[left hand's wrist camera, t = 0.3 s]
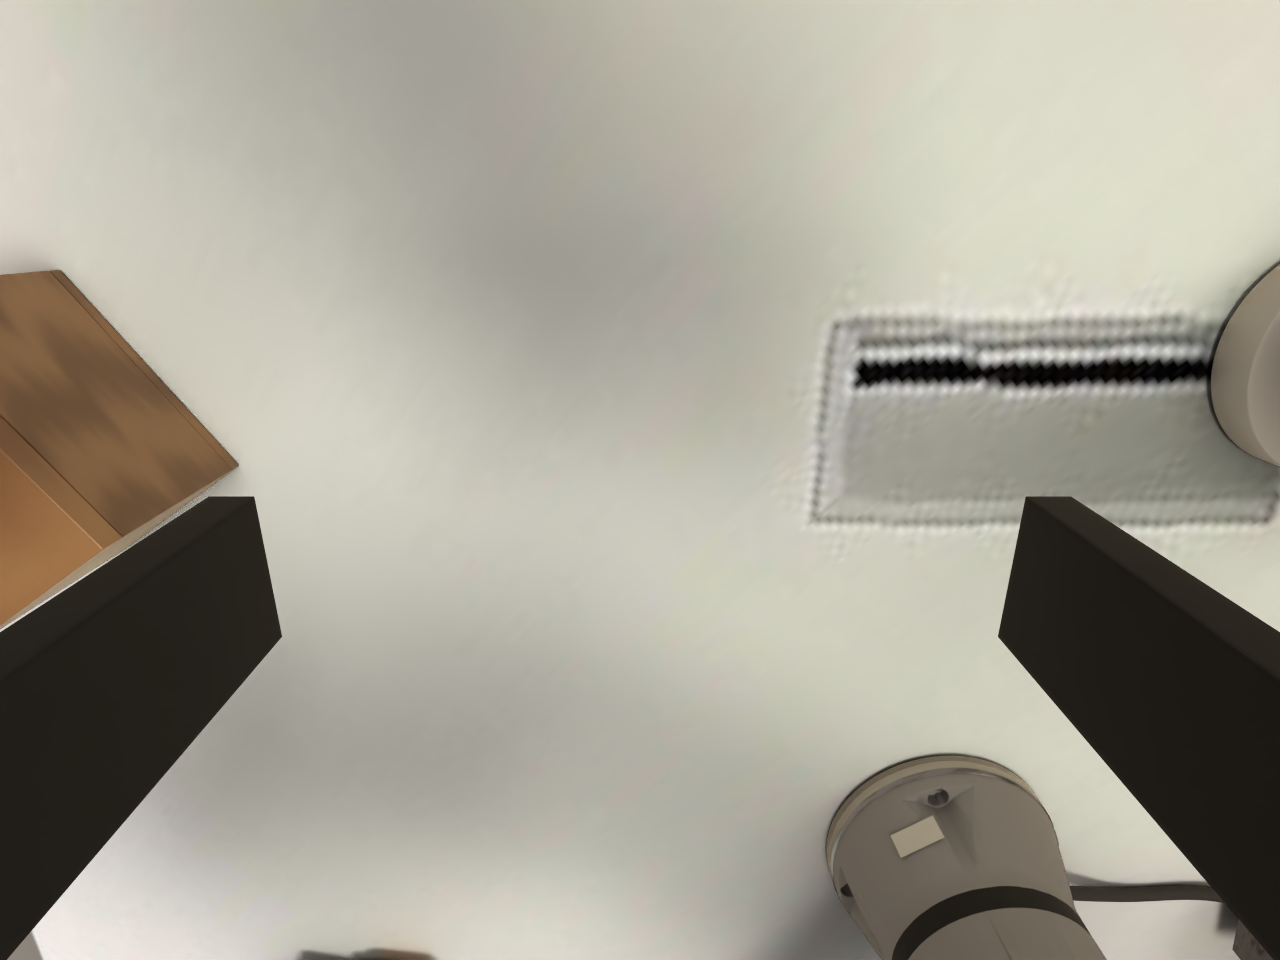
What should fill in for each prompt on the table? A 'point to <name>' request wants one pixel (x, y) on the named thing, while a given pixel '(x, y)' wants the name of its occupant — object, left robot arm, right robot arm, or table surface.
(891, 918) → the right robot arm
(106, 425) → the chest
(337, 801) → the table surface
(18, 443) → the lid
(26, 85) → the table surface
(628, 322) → the table surface
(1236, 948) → the toy
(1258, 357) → the bust sculpture
